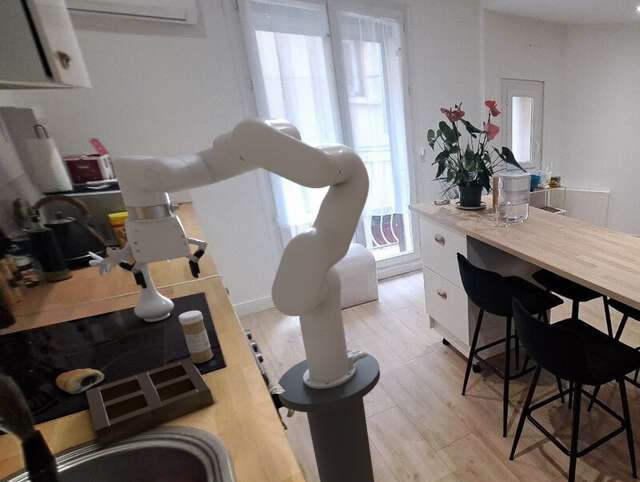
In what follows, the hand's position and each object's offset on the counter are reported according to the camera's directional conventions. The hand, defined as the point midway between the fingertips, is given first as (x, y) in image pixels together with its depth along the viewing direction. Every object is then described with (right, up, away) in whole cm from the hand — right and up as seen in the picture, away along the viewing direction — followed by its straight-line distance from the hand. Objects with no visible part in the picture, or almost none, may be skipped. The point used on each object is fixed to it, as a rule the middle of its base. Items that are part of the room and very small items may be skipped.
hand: (170, 281), depth 99 cm
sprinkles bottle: (0, -21, +10) cm, 23 cm away
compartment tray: (+3, -27, -7) cm, 28 cm away
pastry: (-20, -25, -2) cm, 32 cm away
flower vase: (-31, -13, +30) cm, 45 cm away
